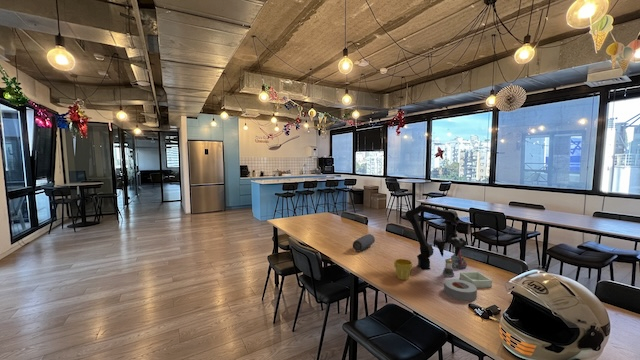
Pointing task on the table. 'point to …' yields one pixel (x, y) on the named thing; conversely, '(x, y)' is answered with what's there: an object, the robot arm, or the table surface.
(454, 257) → the carburetor
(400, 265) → the plant pot
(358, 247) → the bluetooth speaker
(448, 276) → the disc with square block
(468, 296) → the tape roll
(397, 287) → the table surface
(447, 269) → the brass cabinet knob
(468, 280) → the bin
